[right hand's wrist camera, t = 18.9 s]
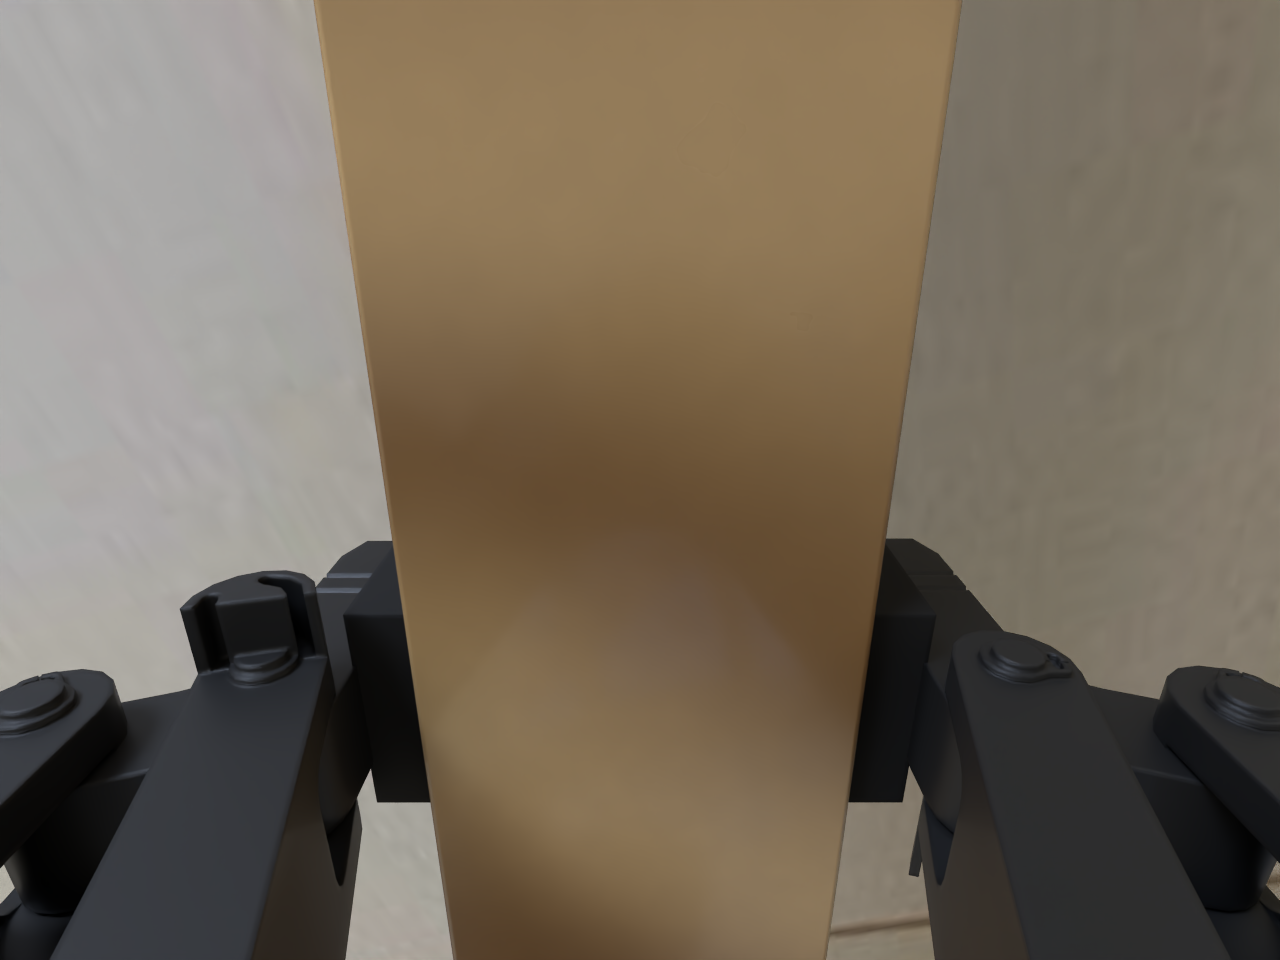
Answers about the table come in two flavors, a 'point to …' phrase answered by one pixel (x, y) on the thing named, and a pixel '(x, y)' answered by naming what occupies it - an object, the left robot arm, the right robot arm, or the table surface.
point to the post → (638, 436)
